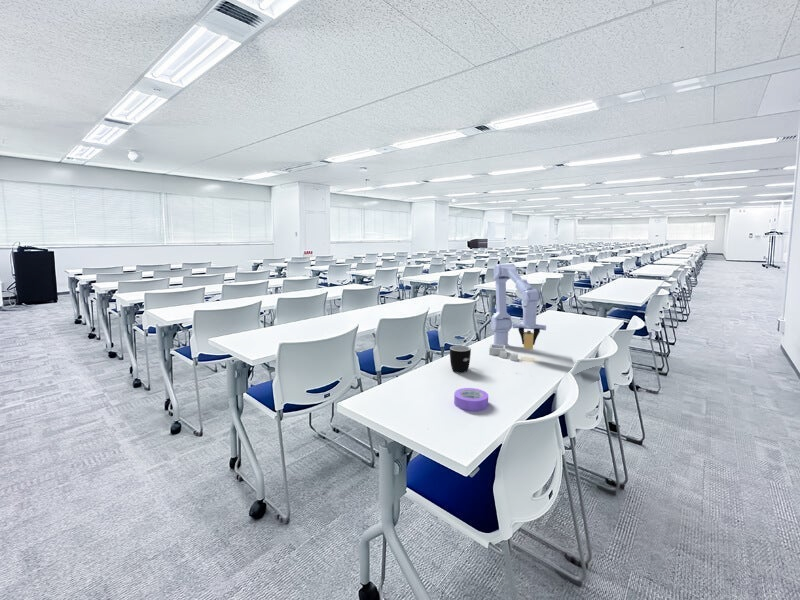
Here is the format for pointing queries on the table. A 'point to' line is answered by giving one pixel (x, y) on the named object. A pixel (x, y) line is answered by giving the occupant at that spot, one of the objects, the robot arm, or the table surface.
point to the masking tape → (471, 399)
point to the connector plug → (528, 340)
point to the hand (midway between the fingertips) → (528, 344)
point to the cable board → (502, 353)
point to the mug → (460, 358)
